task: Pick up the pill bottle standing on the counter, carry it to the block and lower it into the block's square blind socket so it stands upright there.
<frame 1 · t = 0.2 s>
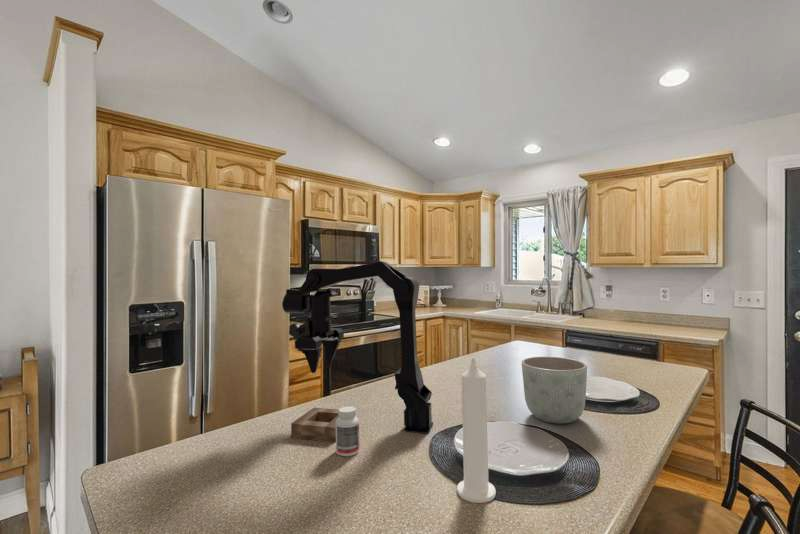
hand: (321, 368, 111), 14 cm above the kitchen island, fingers open, 9 cm apart
planter: (554, 418, 109), on the kitchen island
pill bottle: (347, 452, 91), on the kitchen island
socket block: (323, 430, 104), on the kitchen island
candle: (476, 493, 73), on the kitchen island
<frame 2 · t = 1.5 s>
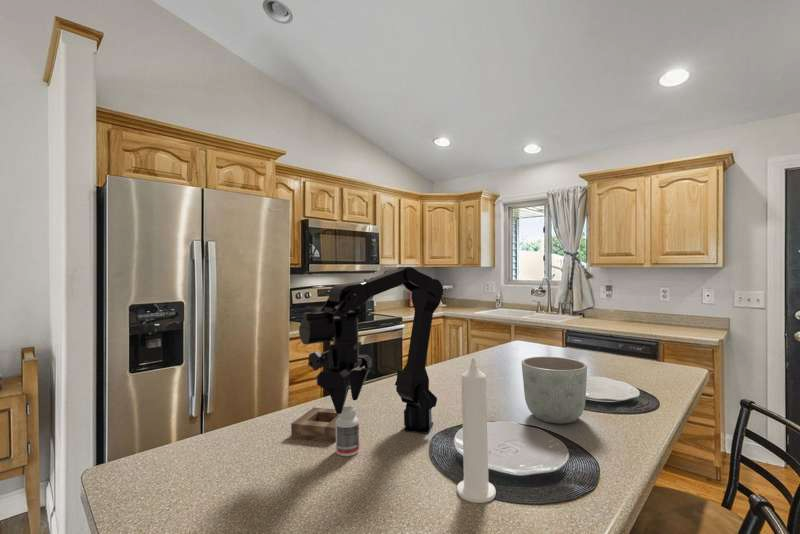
hand: (347, 406, 91), 10 cm above the kitchen island, fingers open, 9 cm apart
nothing on the kitchen island moved.
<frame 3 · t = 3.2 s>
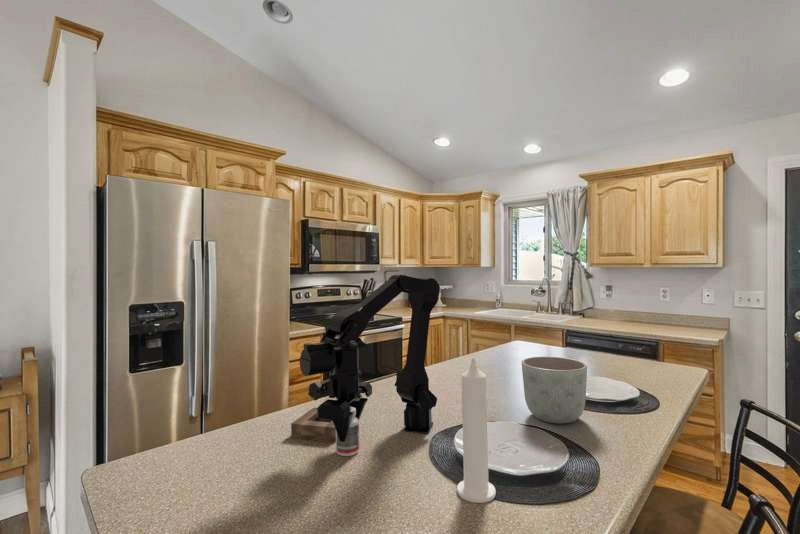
hand: (347, 436, 91), 4 cm above the kitchen island, fingers closed on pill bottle, 5 cm apart
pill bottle: (347, 452, 91), on the kitchen island, touching gripper
everything else where it was.
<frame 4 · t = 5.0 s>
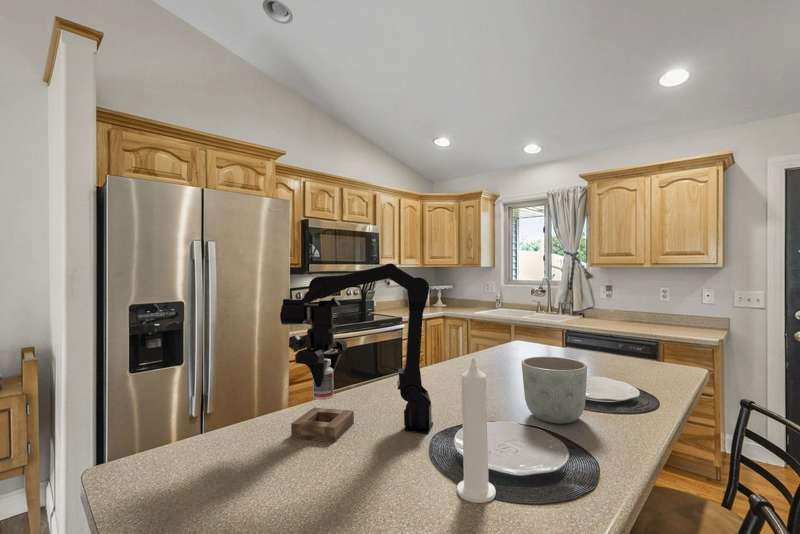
hand: (323, 383, 103), 12 cm above the kitchen island, fingers closed on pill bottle, 5 cm apart
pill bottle: (323, 398, 103), point 8 cm above the kitchen island, touching gripper
everything else where it was.
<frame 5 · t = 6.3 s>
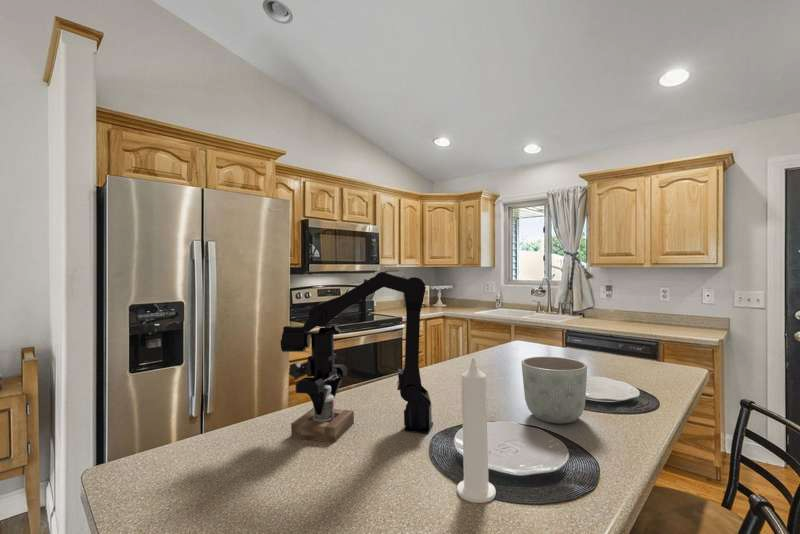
hand: (323, 410, 104), 5 cm above the kitchen island, fingers closed on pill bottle, 5 cm apart
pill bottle: (324, 425, 104), point 1 cm above the kitchen island, touching gripper
everything else where it was.
when the fingers open (5 cm above the kitchen island, at t = 7.1 s): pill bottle stays where it is, resting on socket block.
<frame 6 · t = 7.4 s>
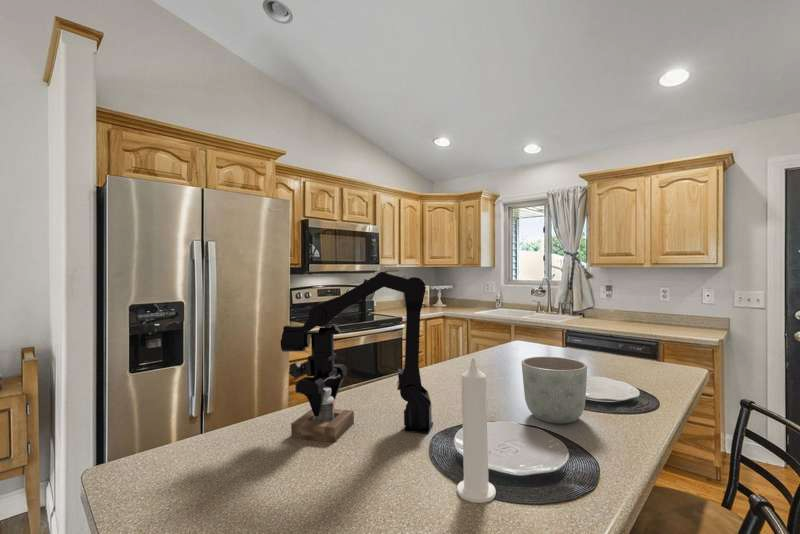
hand: (323, 410, 104), 5 cm above the kitchen island, fingers open, 8 cm apart
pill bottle: (324, 427, 104), point 1 cm above the kitchen island, touching socket block
everything else where it was.
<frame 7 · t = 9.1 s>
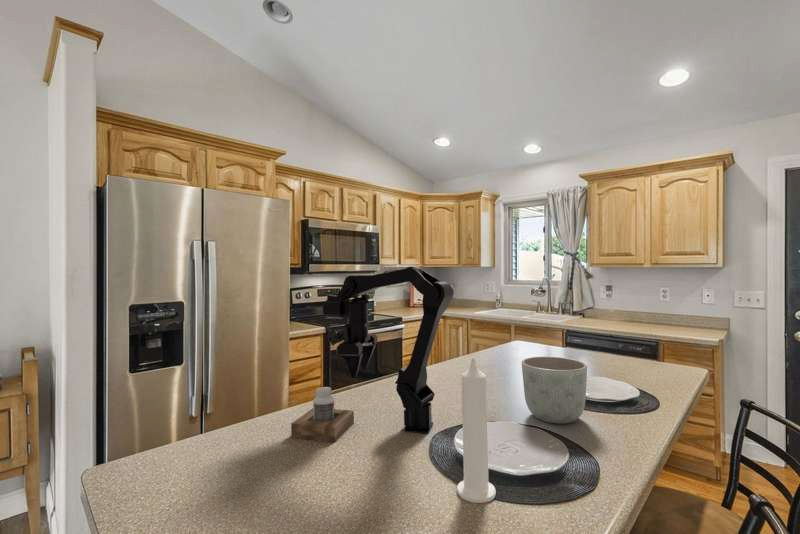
hand: (359, 373, 113), 12 cm above the kitchen island, fingers open, 9 cm apart
nothing on the kitchen island moved.
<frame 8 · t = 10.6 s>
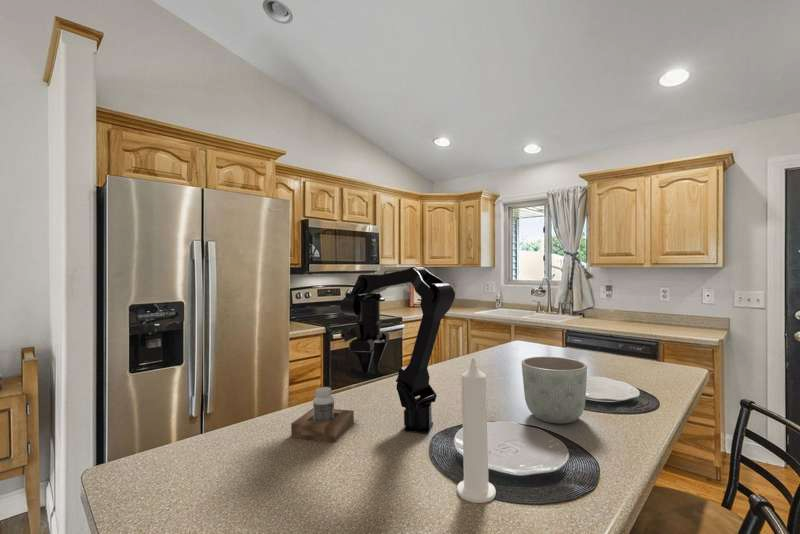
hand: (371, 369, 116), 13 cm above the kitchen island, fingers open, 9 cm apart
nothing on the kitchen island moved.
at the end: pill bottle 0.1 cm off-centre on the socket block, point 0.8 cm above the socket block's base; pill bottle tilted 0°; the gripper is holding nothing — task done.
